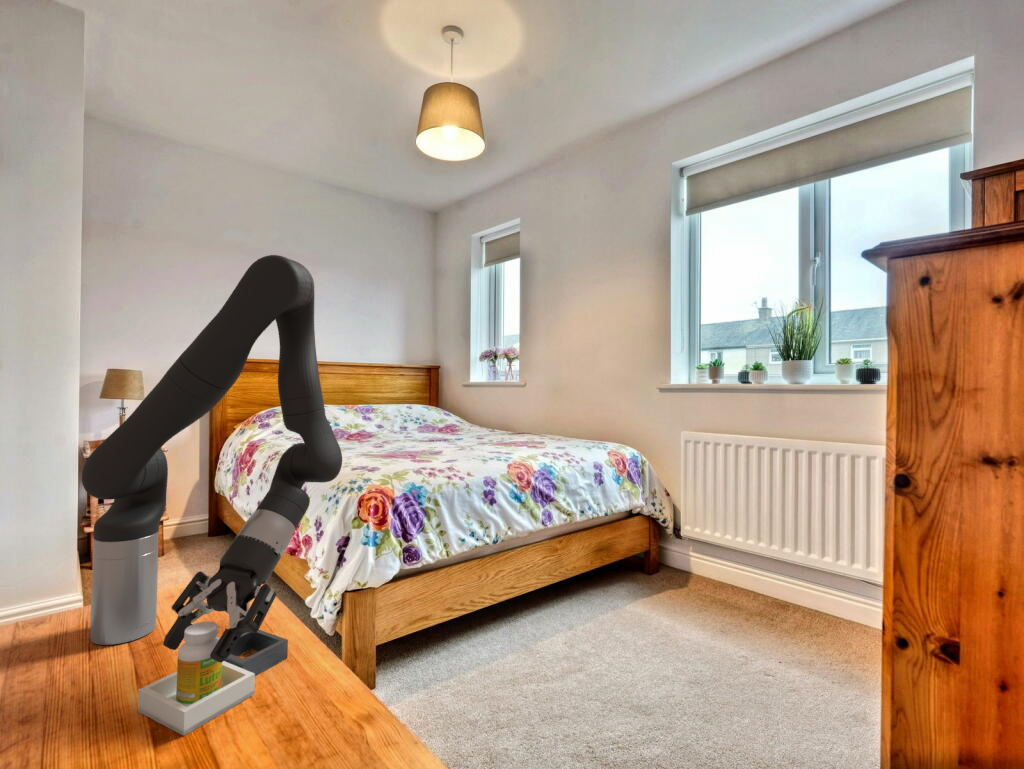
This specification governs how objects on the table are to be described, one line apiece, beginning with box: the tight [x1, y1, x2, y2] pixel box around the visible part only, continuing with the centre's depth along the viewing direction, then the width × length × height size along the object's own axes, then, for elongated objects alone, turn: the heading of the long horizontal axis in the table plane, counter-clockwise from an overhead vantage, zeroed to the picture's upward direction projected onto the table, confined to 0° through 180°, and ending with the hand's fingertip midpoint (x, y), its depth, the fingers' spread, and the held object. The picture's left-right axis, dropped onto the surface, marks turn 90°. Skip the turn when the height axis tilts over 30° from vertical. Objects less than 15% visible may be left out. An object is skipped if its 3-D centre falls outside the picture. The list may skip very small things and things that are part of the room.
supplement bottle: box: [176, 620, 222, 707], centre depth 72 cm, size 5×5×10 cm
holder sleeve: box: [224, 629, 289, 677], centre depth 82 cm, size 8×8×3 cm
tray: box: [137, 661, 256, 737], centre depth 72 cm, size 10×10×3 cm
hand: (191, 653), depth 71 cm, fingers open, 8 cm apart
